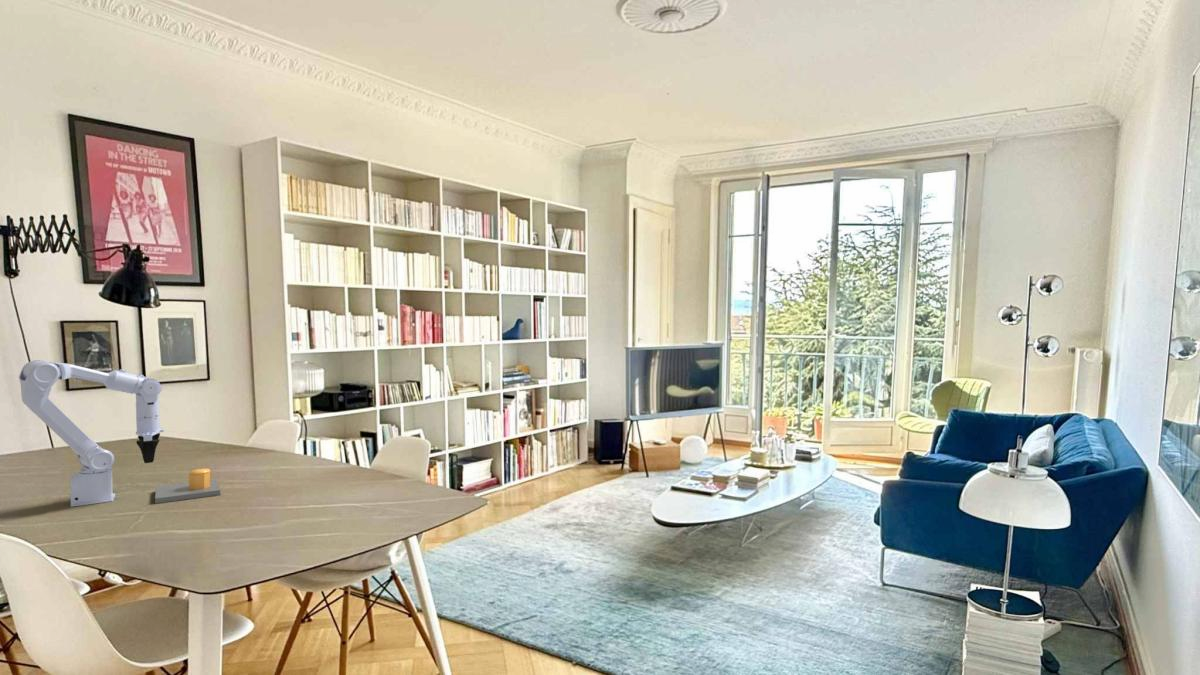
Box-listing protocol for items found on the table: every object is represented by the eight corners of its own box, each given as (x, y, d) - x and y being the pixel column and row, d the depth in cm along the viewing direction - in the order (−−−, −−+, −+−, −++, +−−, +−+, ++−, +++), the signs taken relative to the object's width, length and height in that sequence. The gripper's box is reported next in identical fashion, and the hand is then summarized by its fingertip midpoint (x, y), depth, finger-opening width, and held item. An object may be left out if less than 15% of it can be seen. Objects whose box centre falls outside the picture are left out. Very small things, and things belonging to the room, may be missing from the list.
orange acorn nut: (189, 490, 184) (188, 474, 184) (189, 486, 188) (188, 470, 188) (210, 487, 187) (210, 471, 187) (209, 483, 191) (209, 467, 191)
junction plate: (155, 503, 176) (155, 488, 175) (156, 491, 187) (155, 477, 187) (220, 494, 185) (220, 480, 185) (217, 483, 196) (217, 470, 196)
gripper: (163, 418, 184) (165, 463, 185) (164, 411, 196) (165, 453, 196) (134, 421, 180) (135, 466, 181) (136, 413, 192) (137, 456, 192)
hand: (149, 459), depth 188 cm, fingers open, 7 cm apart
